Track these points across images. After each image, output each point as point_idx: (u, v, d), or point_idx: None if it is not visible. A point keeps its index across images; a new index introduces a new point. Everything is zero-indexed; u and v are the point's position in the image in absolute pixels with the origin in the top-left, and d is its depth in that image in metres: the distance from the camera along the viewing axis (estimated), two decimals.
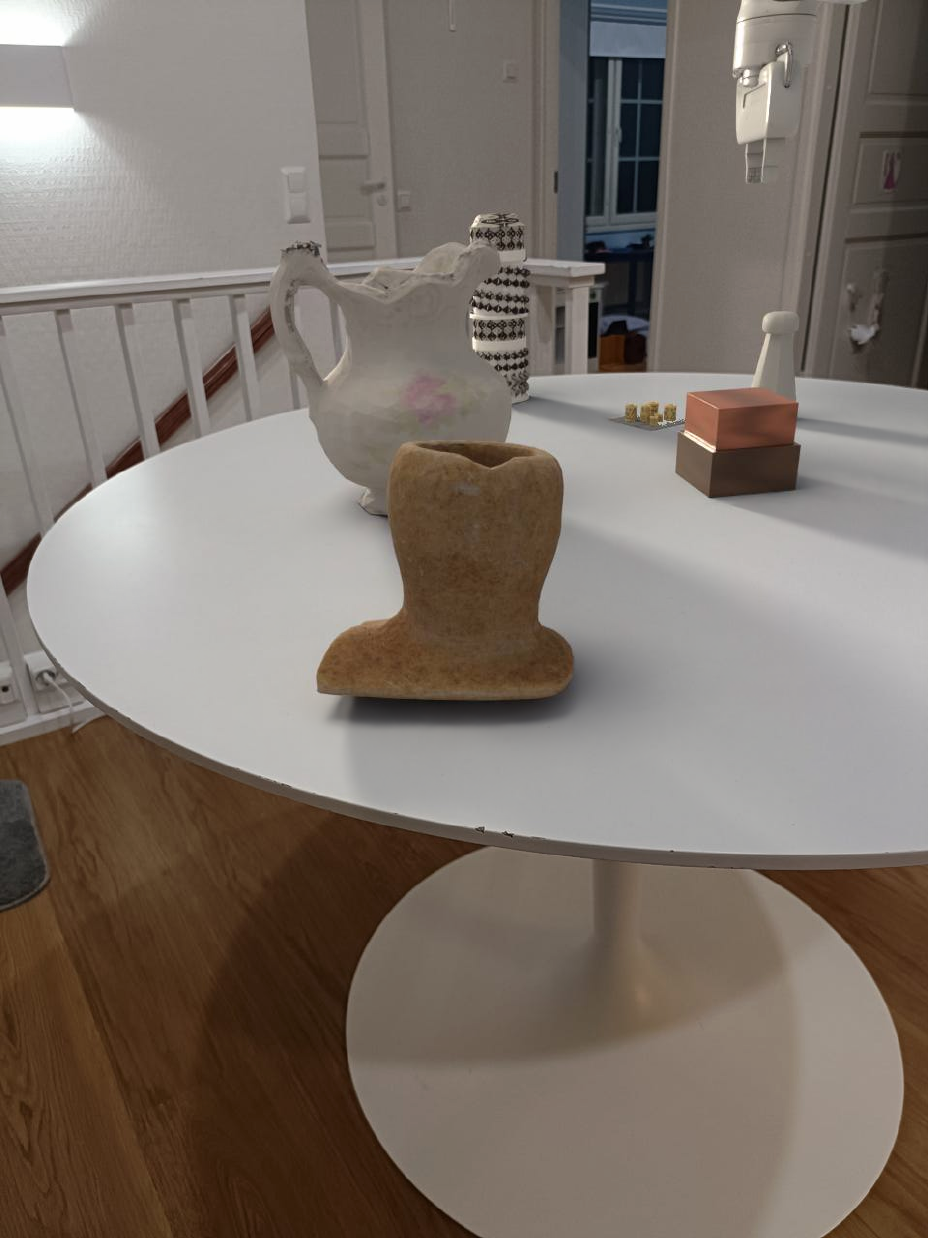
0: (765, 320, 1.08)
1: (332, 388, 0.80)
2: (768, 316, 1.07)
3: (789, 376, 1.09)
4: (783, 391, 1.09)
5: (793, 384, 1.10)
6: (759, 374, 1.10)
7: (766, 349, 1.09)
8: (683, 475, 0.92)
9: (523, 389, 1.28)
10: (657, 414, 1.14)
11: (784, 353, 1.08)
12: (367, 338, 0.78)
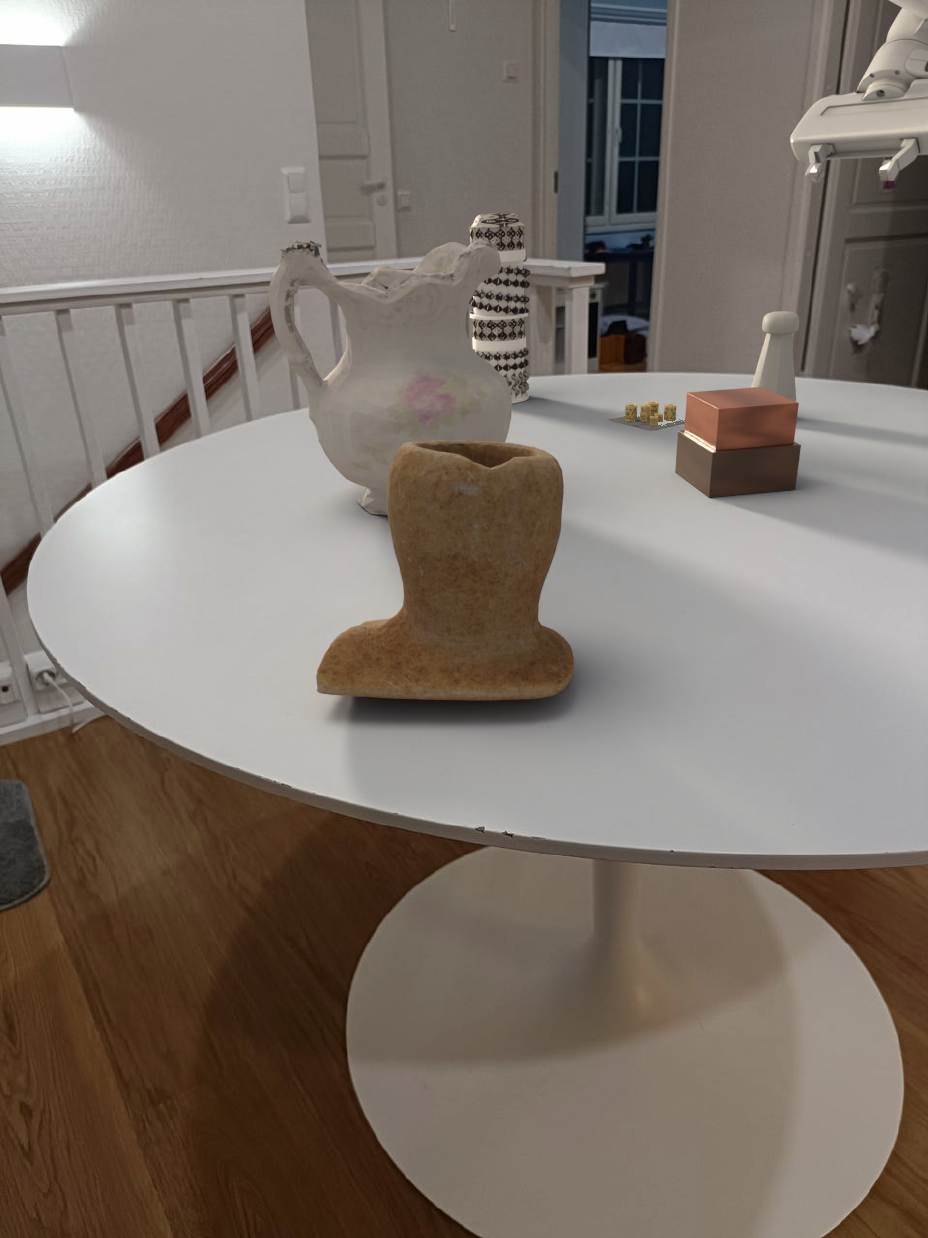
0: (765, 320, 1.08)
1: (332, 388, 0.80)
2: (768, 316, 1.07)
3: (789, 376, 1.09)
4: (783, 391, 1.09)
5: (793, 384, 1.10)
6: (759, 374, 1.10)
7: (766, 349, 1.09)
8: (683, 475, 0.92)
9: (523, 389, 1.28)
10: (657, 414, 1.14)
11: (784, 353, 1.08)
12: (367, 338, 0.78)
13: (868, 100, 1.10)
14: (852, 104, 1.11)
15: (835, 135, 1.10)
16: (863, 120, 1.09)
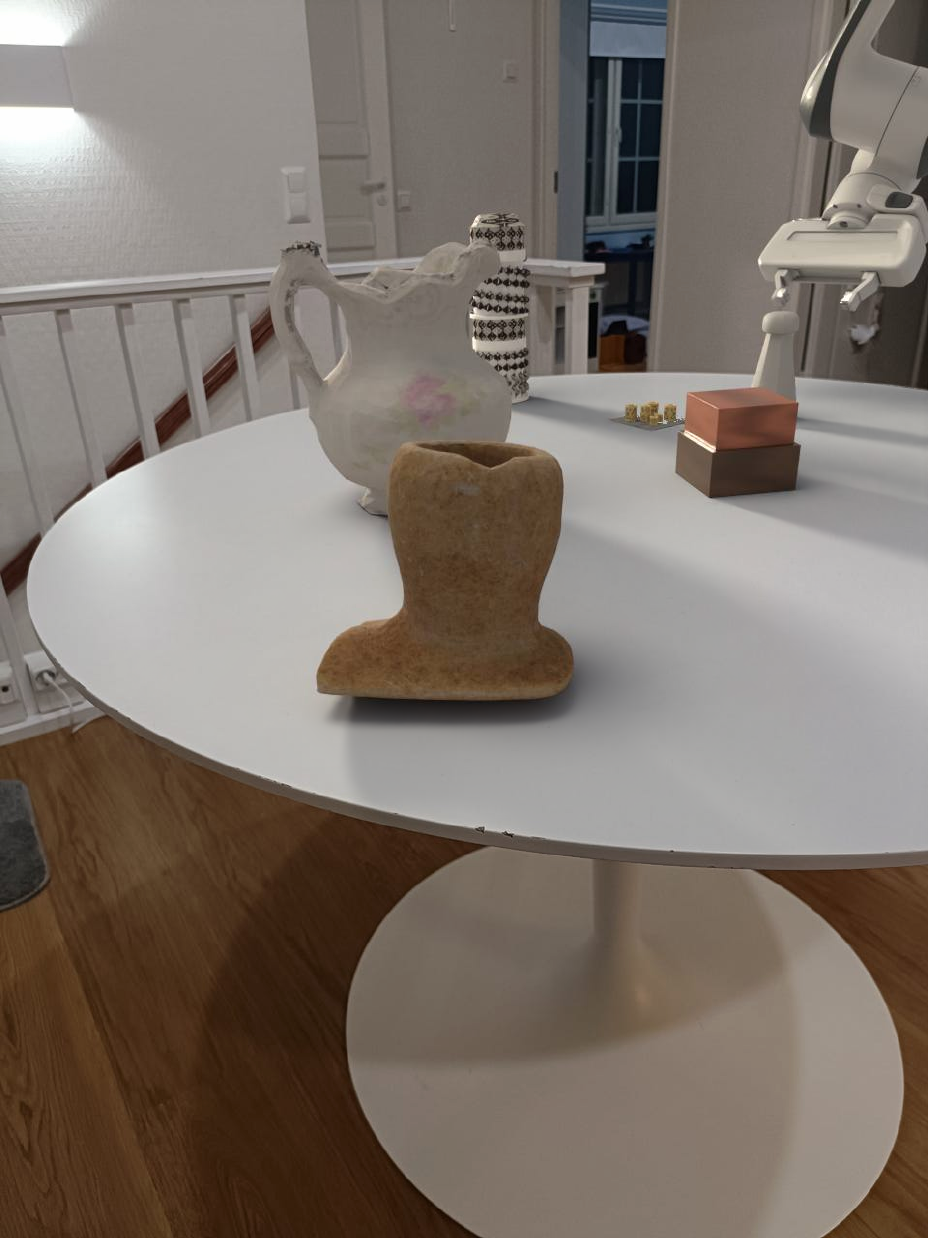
0: (765, 320, 1.08)
1: (332, 388, 0.80)
2: (768, 316, 1.07)
3: (789, 376, 1.09)
4: (783, 391, 1.09)
5: (793, 384, 1.10)
6: (759, 374, 1.10)
7: (766, 349, 1.09)
8: (683, 475, 0.92)
9: (523, 389, 1.28)
10: (657, 414, 1.14)
11: (784, 353, 1.08)
12: (367, 338, 0.78)
13: (832, 229, 1.13)
14: (817, 231, 1.14)
15: (800, 263, 1.13)
16: (827, 249, 1.12)
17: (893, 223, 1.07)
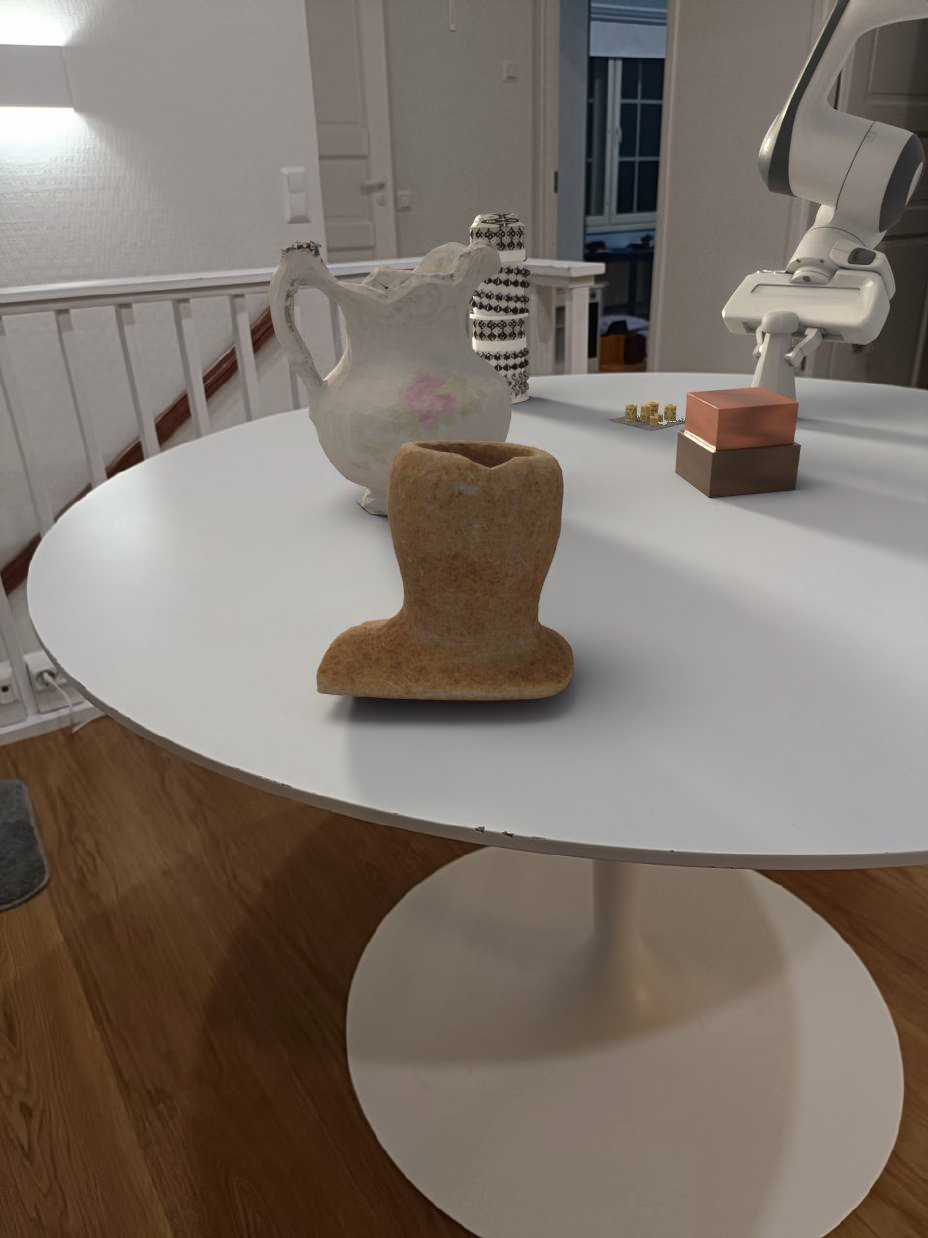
0: (764, 320, 1.08)
1: (332, 388, 0.80)
2: (767, 316, 1.08)
3: (789, 376, 1.09)
4: (782, 391, 1.09)
5: (793, 384, 1.10)
6: (758, 374, 1.10)
7: (765, 349, 1.09)
8: (683, 475, 0.92)
9: (523, 389, 1.28)
10: (657, 414, 1.14)
11: (784, 353, 1.08)
12: (367, 338, 0.78)
13: (795, 283, 1.11)
14: (781, 285, 1.12)
15: None
16: (790, 304, 1.10)
17: (856, 280, 1.05)
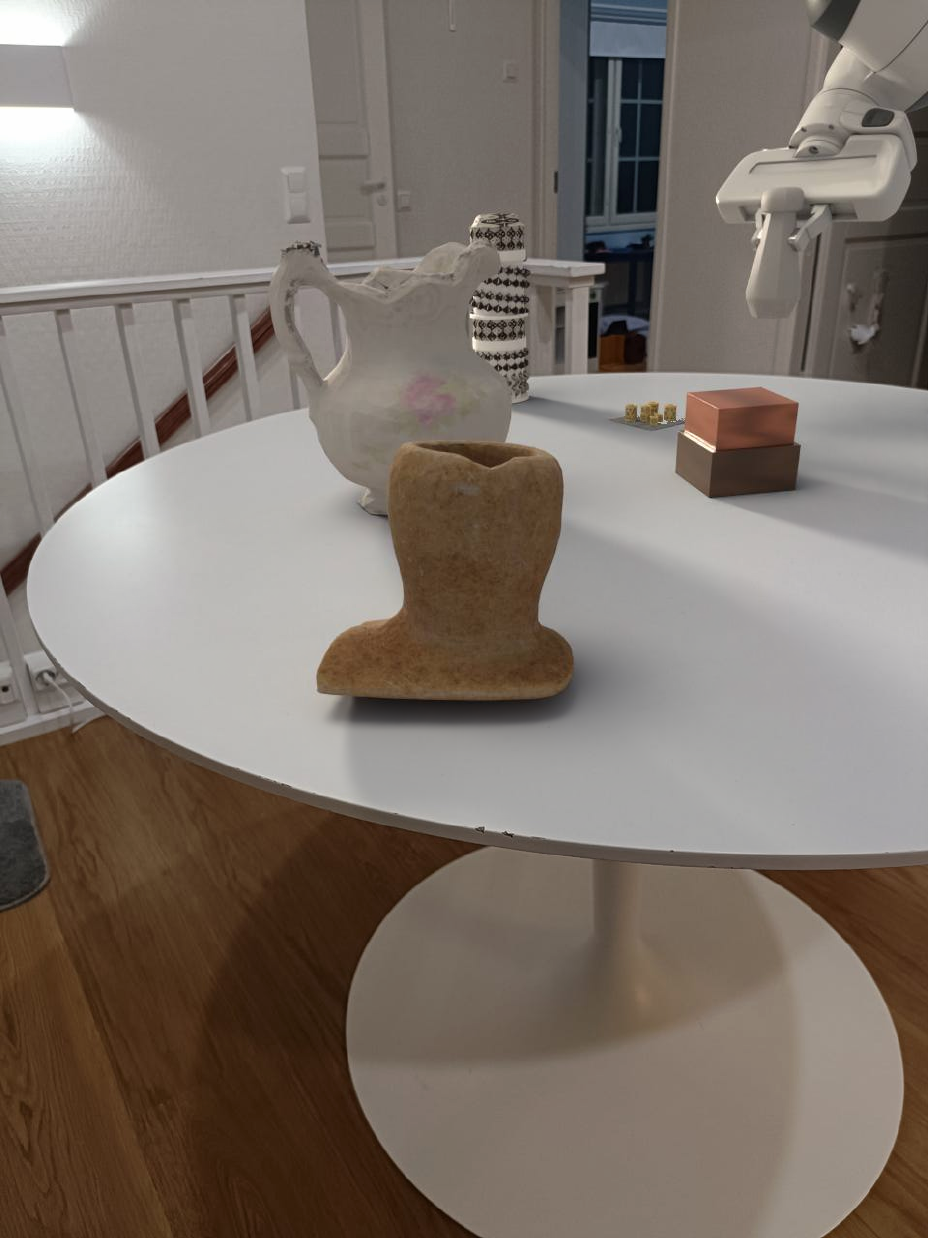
0: (764, 197, 0.93)
1: (332, 388, 0.80)
2: (768, 192, 0.92)
3: (793, 263, 0.94)
4: (785, 281, 0.94)
5: (797, 273, 0.95)
6: (757, 262, 0.95)
7: (766, 232, 0.94)
8: (683, 475, 0.92)
9: (523, 389, 1.28)
10: (657, 414, 1.14)
11: (787, 235, 0.93)
12: (367, 338, 0.78)
13: (800, 157, 0.96)
14: (783, 161, 0.97)
15: None
16: (794, 181, 0.95)
17: (871, 145, 0.90)
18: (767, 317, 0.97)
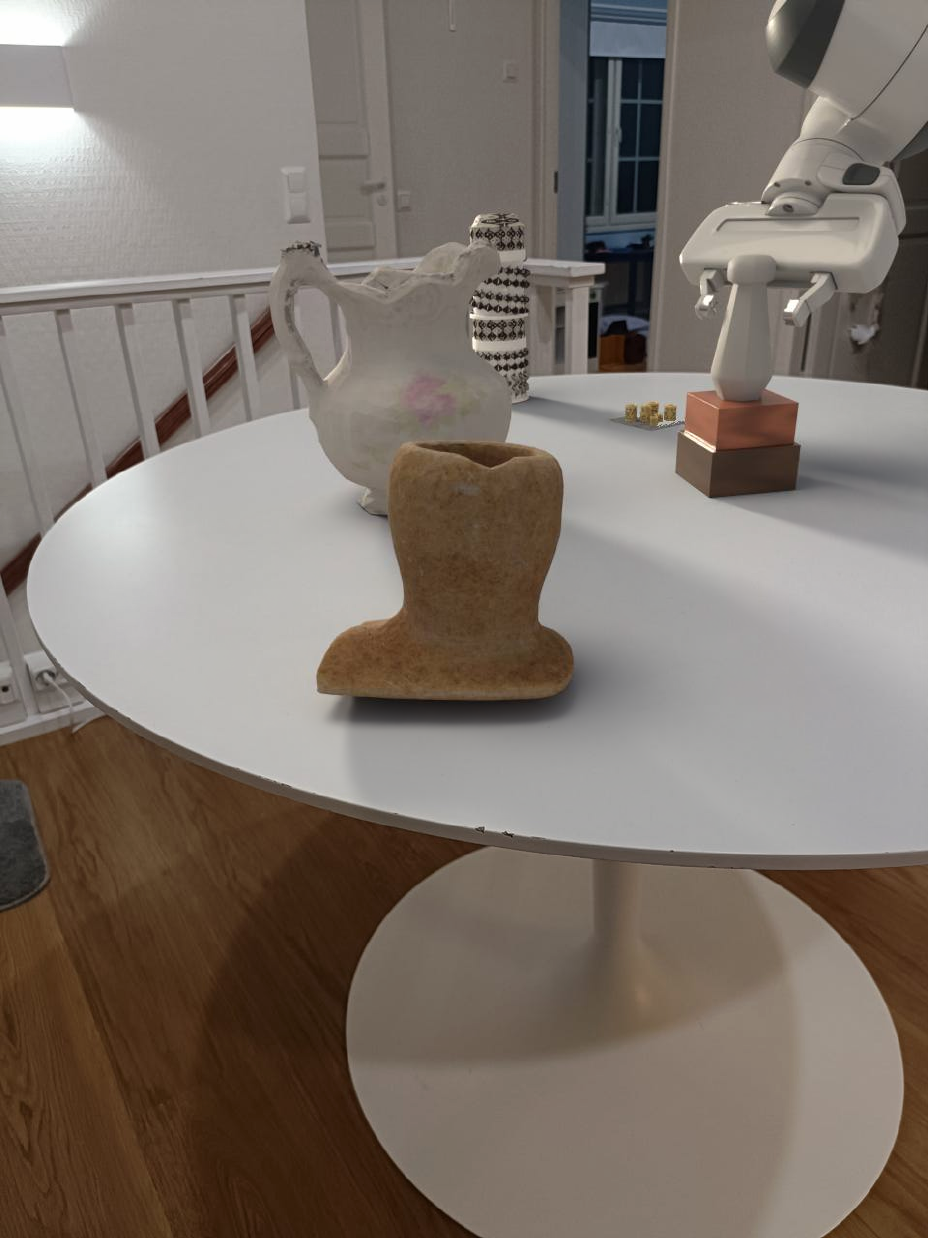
0: (730, 266, 0.81)
1: (332, 388, 0.80)
2: (734, 260, 0.81)
3: (763, 341, 0.83)
4: (754, 361, 0.83)
5: (768, 352, 0.83)
6: (723, 338, 0.84)
7: (732, 305, 0.82)
8: (683, 475, 0.92)
9: (523, 389, 1.28)
10: (657, 414, 1.14)
11: (756, 310, 0.82)
12: (367, 338, 0.78)
13: (774, 215, 0.84)
14: (755, 219, 0.85)
15: None
16: (766, 243, 0.83)
17: (853, 206, 0.78)
18: (734, 399, 0.85)
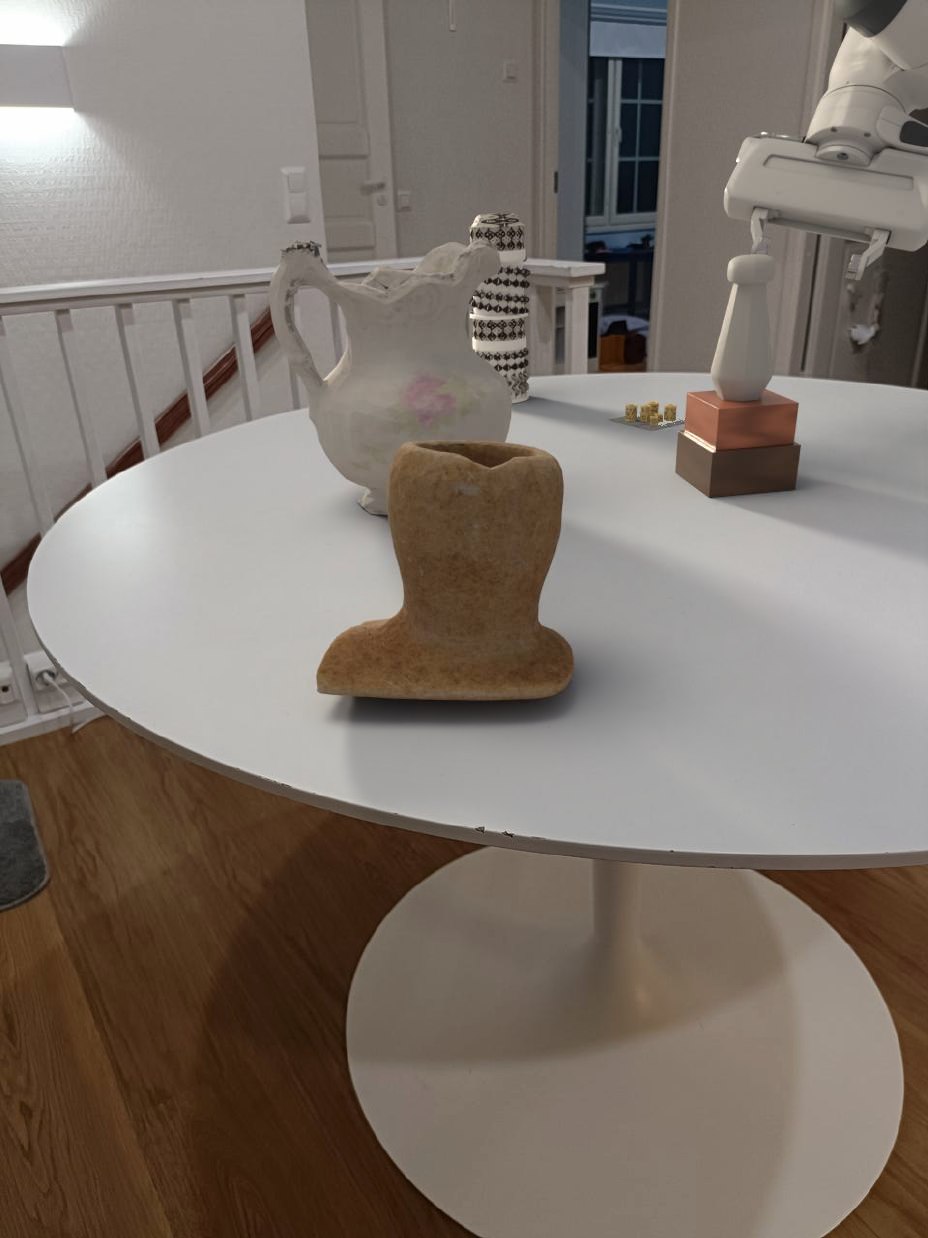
0: (730, 266, 0.81)
1: (332, 388, 0.80)
2: (734, 260, 0.81)
3: (763, 341, 0.83)
4: (754, 361, 0.83)
5: (768, 352, 0.83)
6: (723, 338, 0.84)
7: (732, 305, 0.82)
8: (683, 475, 0.92)
9: (523, 389, 1.28)
10: (657, 414, 1.14)
11: (756, 310, 0.82)
12: (367, 338, 0.78)
13: (824, 159, 0.87)
14: (803, 159, 0.88)
15: (788, 204, 0.87)
16: (822, 189, 0.87)
17: (909, 165, 0.84)
18: (734, 399, 0.85)
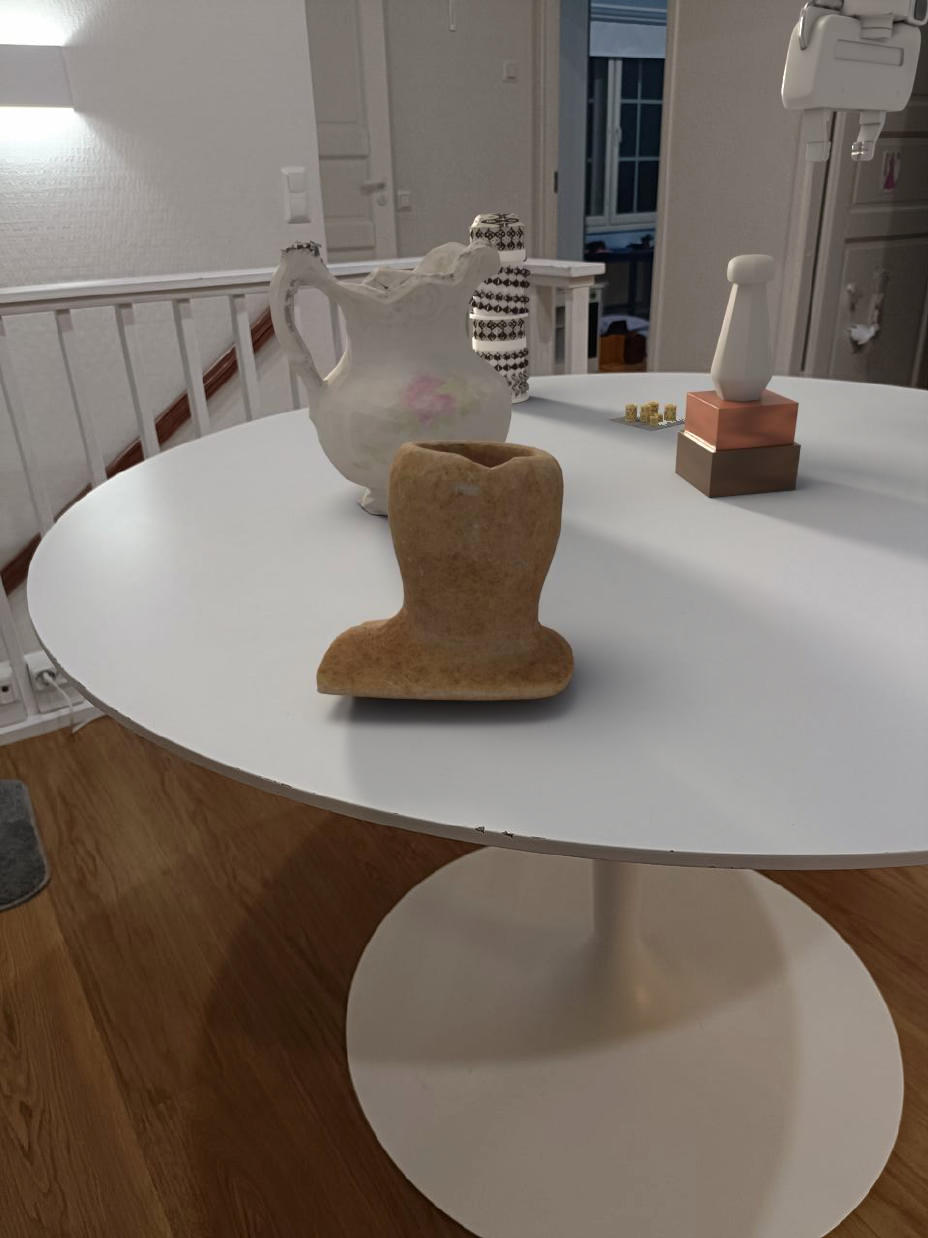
0: (730, 266, 0.81)
1: (332, 388, 0.80)
2: (734, 260, 0.81)
3: (763, 341, 0.83)
4: (754, 361, 0.83)
5: (768, 352, 0.83)
6: (723, 338, 0.84)
7: (732, 305, 0.82)
8: (683, 475, 0.92)
9: (523, 389, 1.28)
10: (657, 414, 1.14)
11: (756, 310, 0.82)
12: (367, 338, 0.78)
13: (865, 39, 0.85)
14: (853, 41, 0.84)
15: (847, 102, 0.86)
16: (864, 78, 0.87)
17: (907, 39, 0.89)
18: (734, 399, 0.85)
